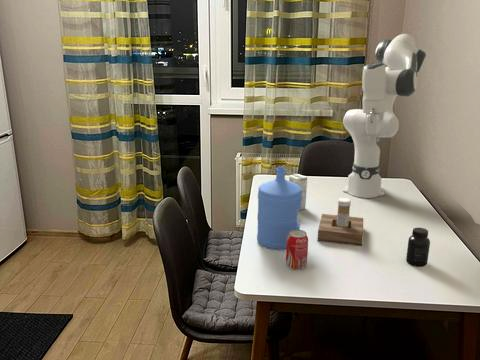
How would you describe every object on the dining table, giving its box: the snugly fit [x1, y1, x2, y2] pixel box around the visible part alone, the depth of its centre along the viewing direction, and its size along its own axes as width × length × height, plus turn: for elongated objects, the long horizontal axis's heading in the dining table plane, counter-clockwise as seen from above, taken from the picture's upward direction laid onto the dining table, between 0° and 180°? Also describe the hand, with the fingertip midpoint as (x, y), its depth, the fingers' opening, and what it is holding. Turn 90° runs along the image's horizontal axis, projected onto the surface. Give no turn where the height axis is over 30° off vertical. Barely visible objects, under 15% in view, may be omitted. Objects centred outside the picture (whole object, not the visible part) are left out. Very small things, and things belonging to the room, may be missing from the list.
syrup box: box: [288, 173, 308, 211], centre depth 207 cm, size 6×6×14 cm
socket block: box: [316, 213, 364, 247], centre depth 183 cm, size 16×16×4 cm
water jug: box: [256, 167, 302, 251], centre depth 174 cm, size 16×16×28 cm
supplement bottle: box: [405, 227, 431, 268], centre depth 161 cm, size 7×7×12 cm
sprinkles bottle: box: [337, 197, 352, 228], centre depth 181 cm, size 5×5×13 cm
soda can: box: [285, 229, 309, 271], centre depth 158 cm, size 7×7×12 cm
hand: (375, 143), depth 184 cm, fingers open, 8 cm apart
